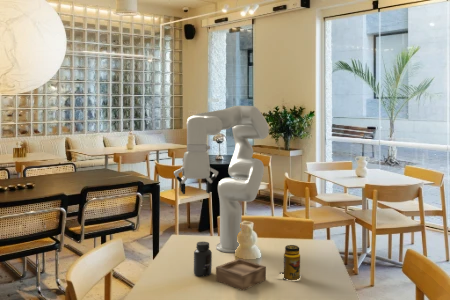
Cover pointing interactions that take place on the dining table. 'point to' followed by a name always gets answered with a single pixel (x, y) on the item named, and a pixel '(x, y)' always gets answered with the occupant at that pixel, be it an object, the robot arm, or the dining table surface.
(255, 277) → the walnut tray
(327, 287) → the dining table surface
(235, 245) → the robot arm
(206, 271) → the supplement bottle
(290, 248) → the condiment
